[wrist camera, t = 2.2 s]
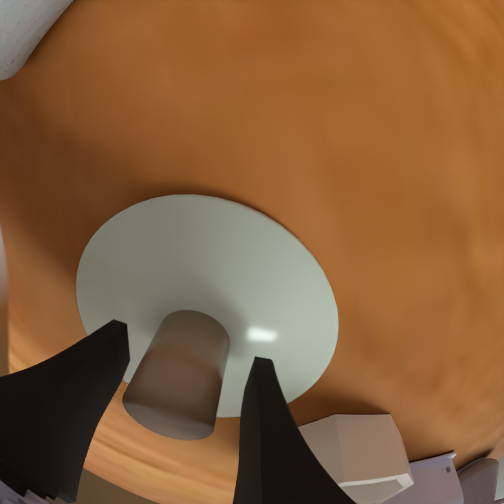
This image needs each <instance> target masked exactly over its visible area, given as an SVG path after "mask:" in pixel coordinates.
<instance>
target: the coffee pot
mask: <svg viewBox="0 0 504 504" xmlns="http://www.w3.org/2000/svg"><path fill="white" fill-rule="evenodd" d="M498 467H499V462H498V461H497V460H495V459H492V458H488V459H484V457H482V458H479V459H477V460H475V461H473V462H472V463H470V464H468V465H466V466H465V467H463V468H461V469H460V470H458V471H457V476H458V479H459V482H460V485H461V489H462V492H463V496H464V502H463V504H501V503H504V498H503V499H499V500H496V501H494V499H495V492H496V485H497V477H498Z"/></svg>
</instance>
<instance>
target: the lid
mask: <svg viewBox="0 0 504 504" xmlns="http://www.w3.org/2000/svg"><path fill="white" fill-rule="evenodd" d="M76 298H77V305H78V310H79V314H80V318H81V321H82V323H83V326H84V329H85V331H86V333H87V335H90V334H91V333H93V332H94V331H96V330H97V329H99V328H100V327H102V326H104V325H105V324H107V323H108V322H110V321H111V320H113V319H115V320H118V321H121V322H124V323H127V328H128V340H129V351H130V362H129V365H128V367H127V370H126V372H125V374H124V377H123V380H124V381H125V382H127V383H128V384H129V385H128V387H127V389H126V391H125V393H124V395H123V399H122V400H123V405H124V407H125V409H126V411H127V412H128V413H129V414H130V416H131V417H132V418H133V419H134V420H136V421H137V422H138V423H140V424H141V425H142V426H144V427H146V428H147V429H149V430H151V431H153V432H155V433H158V434H160V435H163V436H166V437H169V438H173V439H179V440H199V439H203V438H206V437H208V436H209V435H210V434H211V433H212V432H213V430H214V426H215V421H216V417H240V416H241V407H242V400H243V394H244V388H245V385H246V382H247V379H248V376H249V373H250V370H251V367H252V364H253V361H254V358H255V356H257V357H262V358H268V359H272V361H273V363H274V367H275V371H276V374H277V377H278V381H279V384H280V387H281V389H282V392H283V395H284V397H285V400H286V402H287V403H289V402H291V401H293V400H294V399H296V398H297V397H299V396H300V395H302V394H303V393H304V392H306V391H307V390H308V389H309V388H310V387H311V386H313V384H314V383H315V382H316V381H317V380H318V379H319V378H320V377H321V375H322V374H323V372H324V371H325V369H326V368H327V366H328V365H329V362H330V360H331V358H332V356H333V353H334V350H335V346H336V342H337V338H338V324H339V323H338V313H337V306H336V303H335V299H334V296H333V292H332V289H331V286H330V284H329V282H328V280H327V278H326V276H325V274H324V271H323V269H322V268H321V266H320V265H319V263H318V262H317V261H316V259H315V258H314V256H313V255H312V253H311V252H310V251H309V250H308V249H307V248H306V247H305V246H304V245H303V244H302V242H301V241H300V240H299V239H298V238H297V237H295V236H294V235H293V234H292V233H291V232H289V231H288V230H287V229H286V228H284V227H283V226H282V225H281V224H279V223H277V222H276V221H274V220H272V219H271V218H269V217H268V216H266V215H264V214H262V213H261V212H259V211H256V210H254V209H252V208H249V207H247V206H245V205H242V204H240V203H237V202H233V201H230V200H226V199H222V198H219V197H213V196H205V195H197V194H173V195H167V196H161V197H155V198H152V199H148V200H145V201H143V202H140V203H137V204H135V205H133V206H131V207H129V208H127V209H125V210H123V211H121V212H120V213H118V214H116V215H114V216H113V217H112V218H111V219H109V220H108V221H107V222H106V223H104V224H103V225H102V226H101V227H100V228H99V229H98V231H97V232H96V233H95V234H94V235H93V236H92V238H91V239H90V241H89V243H88V244H87V246H86V248H85V249H84V252H83V254H82V257H81V259H80V262H79V266H78V271H77V276H76Z"/></svg>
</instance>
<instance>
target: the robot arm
mask: <svg viewBox="0 0 504 504" xmlns="http://www.w3.org/2000/svg"><path fill="white" fill-rule="evenodd" d="M129 362H130V351H129V340H128V328H127V323H124V322H121V321H118V320H115V319H113V320H111V321H110V322H108V323H107V324H105V325H104V326H102V327H100V328H99V329H97V330H96V331H94V332H93V333H91V334H90V335H88V336H87V337H85V338H84V339H82V340H80V341H79V342H77V343H76V344H74V345H72V346H71V347H69V348H67V349H66V350H64V351H62V352H60V353H59V354H57V355H55V356H53V357H51V358H49V359H47V360H45V361H43V362H41V363H39V364H37V365H34V366H32V367H30V368H27V369H24V370H21V371H18V372H15V373H12V374H9V375H6V376H2V377H0V504H50V503H48V502H47V501H45V499H46V496H48V497H50V498H51V499H53V500H55V499H56V497H58V498H60V499H62V500H64V501H65V502H67V503H72V502H75V501H76V496H77V490H78V486H79V480H80V476H81V472H82V468H83V465H84V461H85V458H86V455H87V452H88V449H89V446H90V443H91V440H92V437H93V435H94V432H95V430H96V427H97V425H98V423H99V421H100V419H101V417H102V415H103V413H104V412H105V410H106V408H107V406H108V404H109V403H110V401H111V399H112V397H113V396H114V394H115V392H116V390H117V388H118V387H119V385H120V383H121V381H122V379H123V377H124V374H125V372H126V370H127V367H128V365H129ZM454 456H456V452H452V453H449V454H445V455H442V456H438V457H434V458H430V459H426V460H421V461H417V462H412V463H409V466H410V469H411V473H412V477H413V481H414V484H413V485H411V486H410V487H408V488H407V489H405V490H403V491H402V492H400V493H398V494H397V495H395V496H393V497H391V498H390V499H388V500H386V501H384V502H382V503H379V504H463V502H464V496H463V492H462V489H461V485H460V482H459V479H458V476H457V472H456V469H455V466H454V464H453V461H452V458H453V457H454ZM233 504H357V503H356V502H355V501H353V500H352V499H351V498H350V497H349V496H348V495H347V494H346V493H345V492H344V491H343V490H342V489H341V488H340V487H339V485H338V484H337V483H336V482H335V481H334V480H333V479H332V477H331V476H330V475H329V474H328V472H327V471H326V470H325V469H324V467H323V466H322V465H321V464H320V462H319V461H318V459H317V458H316V457H315V455H314V454H313V452H312V451H311V449H310V447H309V446H308V444H307V443H306V441H305V439H304V438H303V436H302V434H301V432H300V430H299V428H298V426H297V424H296V422H295V420H294V418H293V416H292V414H291V412H290V410H289V407H288V405H287V402H286V400H285V397H284V395H283V392H282V389H281V387H280V384H279V381H278V377H277V374H276V371H275V367H274V363H273V361H272V359H268V358H262V357H257V356H255V358H254V361H253V364H252V367H251V370H250V373H249V376H248V379H247V382H246V385H245V388H244V394H243V400H242V407H241V416H240V444H239V466H238V474H237V481H236V487H235V493H234V499H233Z"/></svg>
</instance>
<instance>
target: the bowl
mask: <svg viewBox="0 0 504 504" xmlns="http://www.w3.org/2000/svg"><path fill="white" fill-rule="evenodd" d="M298 428H299V430H300V432H301V434H302V436H303V438H304V439H305V441H306V443H307V444H308V446H309V447H310V449H311V451H312V452H313V454H314V455H315V457H316V458H317V459H318V461H319V462H320V464H321V465H322V466H323V467H324V469H325V470H326V471H327V472H328V474H329V475H330V476H331V477H332V479H333V480H334V481H335V482H336V483H337V484H338V485H339V487H340V488H341V489H342V490H343V491H344V492H345V493H346V494H347V495H348V496H349V497H350V498H351V499H352V500H353V501H355V502H356V503H357V504H379V503H382V502H384V501H386V500H388V499H390V498H391V497H393V496H395V495H397V494H398V493H400V492H402V491H403V490H405V489H407V488H408V487H410V486H411V485H413V484H414V481H413V477H412V473H411V469H410V466H409V462H408V458H407V455H406V451H405V448H404V444H403V441H402V438H401V434H400V432H399V430H398V428H397V426H396V424H395V422H394V420H393V418H392V416H391V414H383V415H344V414H334V415H332V416H329V417H326V418H323V419H320V420H318V421H315V422H312V423H309V424H306V425H302V426H299V427H298Z"/></svg>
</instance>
